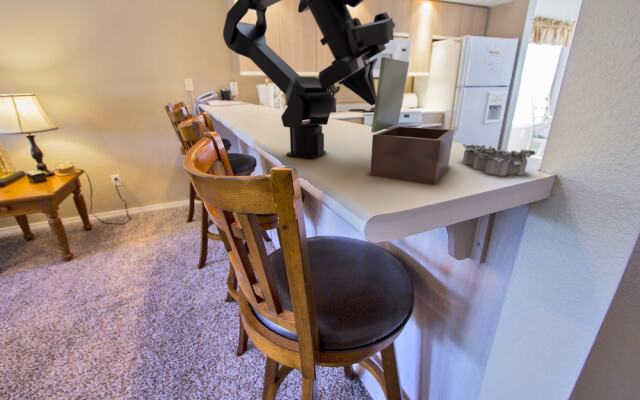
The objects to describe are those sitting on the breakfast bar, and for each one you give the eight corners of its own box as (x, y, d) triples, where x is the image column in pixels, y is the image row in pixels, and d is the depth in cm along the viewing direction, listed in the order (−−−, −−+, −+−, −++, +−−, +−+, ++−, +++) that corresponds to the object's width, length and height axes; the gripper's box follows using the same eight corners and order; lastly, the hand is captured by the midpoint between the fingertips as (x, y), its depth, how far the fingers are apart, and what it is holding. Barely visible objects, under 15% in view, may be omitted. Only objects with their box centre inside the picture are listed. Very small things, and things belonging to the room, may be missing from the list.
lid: (409, 62, 52) (405, 62, 52) (385, 57, 42) (381, 57, 43) (398, 124, 57) (395, 123, 57) (374, 132, 47) (371, 132, 47)
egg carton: (532, 176, 49) (539, 151, 47) (489, 177, 48) (494, 152, 47) (492, 160, 58) (497, 139, 57) (456, 161, 58) (460, 140, 56)
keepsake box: (448, 166, 54) (454, 129, 52) (434, 184, 44) (440, 140, 42) (393, 159, 59) (396, 125, 57) (370, 174, 49) (372, 134, 47)
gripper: (352, -1, 40) (399, 104, 45) (392, -12, 52) (425, 71, 58) (296, 43, 47) (342, 129, 52) (342, 24, 60) (376, 95, 65)
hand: (374, 104), depth 56 cm, fingers closed
